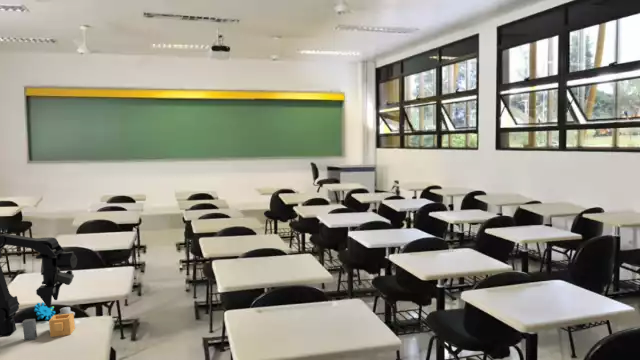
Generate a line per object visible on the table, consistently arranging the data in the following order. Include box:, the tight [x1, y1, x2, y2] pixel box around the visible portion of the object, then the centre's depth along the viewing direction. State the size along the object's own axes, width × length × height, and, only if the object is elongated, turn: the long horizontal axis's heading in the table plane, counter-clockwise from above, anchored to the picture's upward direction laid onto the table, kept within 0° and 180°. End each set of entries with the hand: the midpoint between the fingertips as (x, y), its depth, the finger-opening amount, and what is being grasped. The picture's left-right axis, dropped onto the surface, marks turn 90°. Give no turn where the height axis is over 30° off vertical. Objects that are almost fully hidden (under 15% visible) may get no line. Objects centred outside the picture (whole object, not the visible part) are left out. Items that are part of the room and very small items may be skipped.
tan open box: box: [48, 306, 76, 338], centre depth 211 cm, size 8×14×8 cm, turn 11°
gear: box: [33, 301, 56, 321], centre depth 226 cm, size 11×6×10 cm
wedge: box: [22, 318, 38, 342], centre depth 204 cm, size 4×2×8 cm, turn 101°
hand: (52, 303), depth 210 cm, fingers open, 9 cm apart
